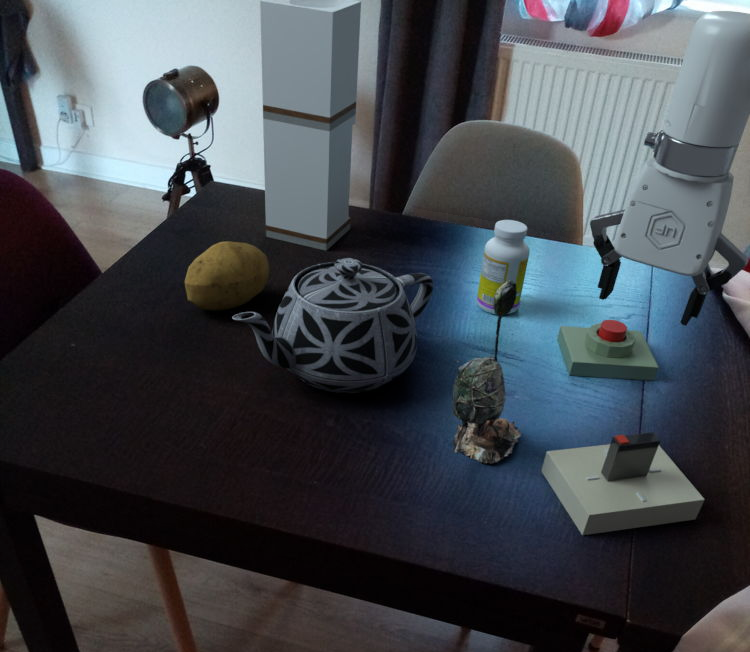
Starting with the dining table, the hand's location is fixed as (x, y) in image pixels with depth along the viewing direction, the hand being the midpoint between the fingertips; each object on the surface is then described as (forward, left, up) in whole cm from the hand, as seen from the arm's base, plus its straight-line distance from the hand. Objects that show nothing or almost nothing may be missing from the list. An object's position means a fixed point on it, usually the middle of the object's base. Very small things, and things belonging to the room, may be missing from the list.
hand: (645, 307), depth 91 cm
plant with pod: (+18, +8, -16) cm, 25 cm away
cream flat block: (+3, +16, -16) cm, 22 cm away
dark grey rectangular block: (+3, +16, -13) cm, 20 cm away
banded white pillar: (+43, -51, -16) cm, 69 cm away
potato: (+53, -23, -16) cm, 60 cm away
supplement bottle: (+12, -28, -16) cm, 35 cm away
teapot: (+36, -7, -16) cm, 40 cm away
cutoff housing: (-2, -14, -16) cm, 21 cm away
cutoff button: (-2, -14, -12) cm, 19 cm away
